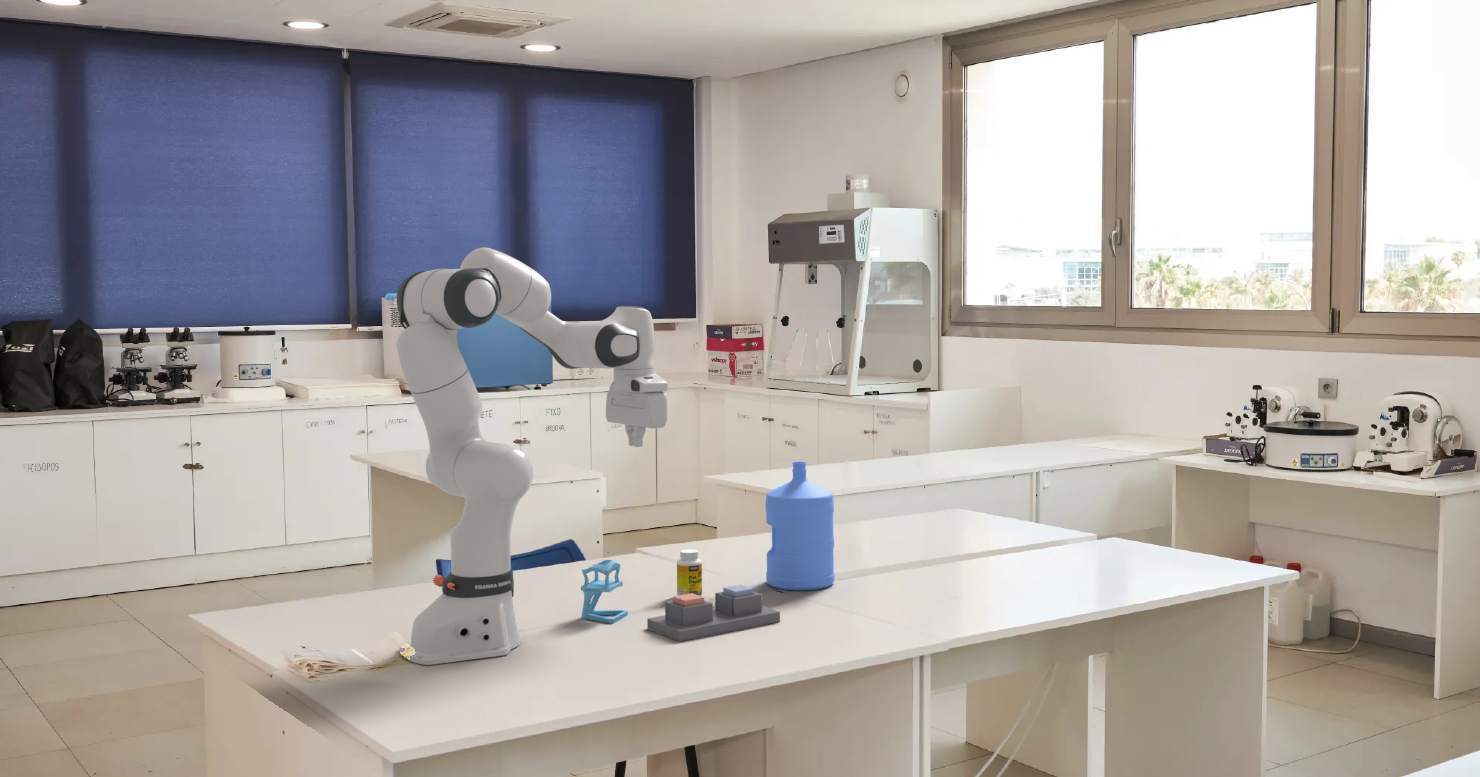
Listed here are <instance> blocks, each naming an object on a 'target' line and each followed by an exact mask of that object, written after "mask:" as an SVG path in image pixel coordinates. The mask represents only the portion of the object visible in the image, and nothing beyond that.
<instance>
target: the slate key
mask: <svg viewBox="0 0 1480 777" xmlns="http://www.w3.org/2000/svg"><path fill="white" fill-rule="evenodd" d="M722 592H723V594H725V595H728V596H731V597H734V598H738V597H744V596H749V595H754V592H755V590H754V588H753V587H749V586H746V585H743V584H737V585H732V586H725V587H723V588H722Z"/></svg>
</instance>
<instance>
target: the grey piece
mask: <svg viewBox="0 0 1480 777" xmlns="http://www.w3.org/2000/svg"><path fill="white" fill-rule="evenodd" d="M714 596H715V598H714V601H715V602H714V604H715V605H714V604H713V603H712V602H711V601H707V600H705V599H704V604H699V605H694V606H688V607H683V606H680V605H678V604H675V603H673V600H667V601H664V602H665V603H664V608H665V610H664V612H665V614H664V615H659V616H653V617H649V618H647V619H646V620H647V623H646V624H647V630H650V631H653V632H656V633H657V634H660V635H662V636H665V637H667V638H670V639H672V640H675V641H677V642H684V641H690V640H695V639H699V638H705V637H710V636H715V635H716V636H717V635H720V634H725V633H730V632H735V631H739V630H745V629H750V628H754V627H755V628H756V627H760V626H764V625H771V624H775V623H779V622H781V612H780V611H779V610H778V611H777V610H776V609H772V608H769V607H766V606H763V595H762V593H758V592H756V591H754V595H749V596H744V597H738V598H734V597H731V596H728V595H725V594H723V591H719V592H715V594H714Z"/></svg>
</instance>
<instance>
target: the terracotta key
mask: <svg viewBox="0 0 1480 777" xmlns="http://www.w3.org/2000/svg"><path fill="white" fill-rule="evenodd" d="M704 600H705V597H704V596H703V595H701V596H699V595H696V594H693V593H690V594H685V595H679V596H677V595H674V596H673V603H675V604H678V605H680V606H683V607H688V606H694V605H699V604H704Z"/></svg>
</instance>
